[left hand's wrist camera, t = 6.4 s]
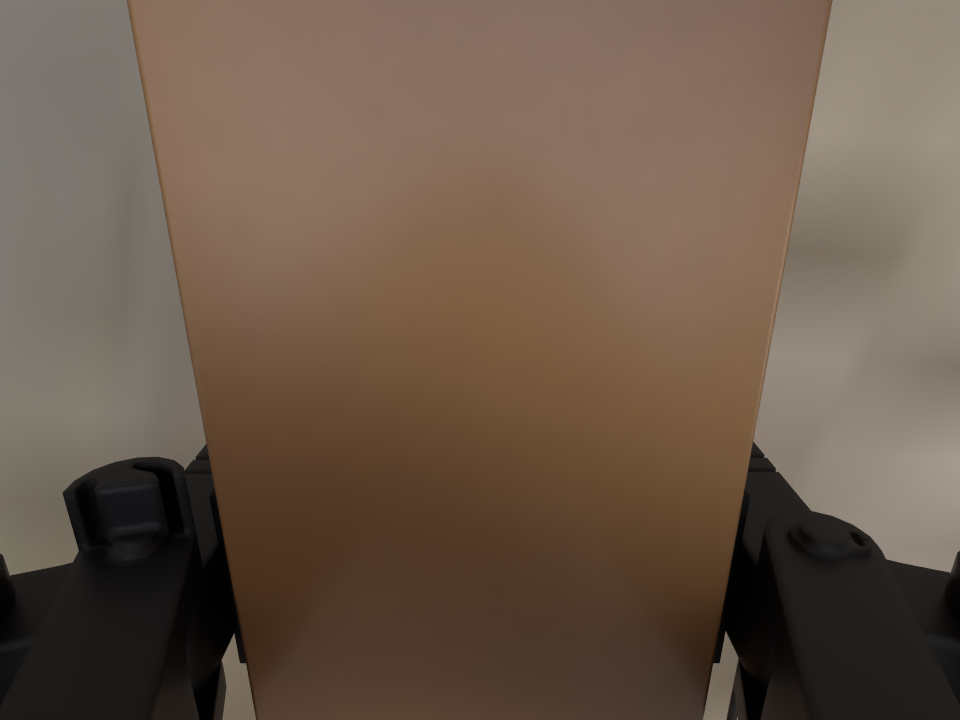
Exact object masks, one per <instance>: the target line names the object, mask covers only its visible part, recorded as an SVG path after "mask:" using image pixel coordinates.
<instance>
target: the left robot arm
mask: <svg viewBox="0 0 960 720" xmlns="http://www.w3.org/2000/svg"><path fill="white" fill-rule="evenodd" d="M63 496H64V500H65V503H66V507H67V510H68V514H69V517H70V521H71V524H72V528H73V531H74V535H75V538H76V542H77V545H78V549H79V552H78V554H77V556H76V558H75V560H74V562H73V563H69V564H65V565H61V566H56V567H51V568H46V569H41V570H36V571H31V572H26V573H21V574H16V575H11V576H10V575H9V572H8V569H7V566H6V563H5V560H4V557H3V555H1V554H0V720H222V718H223V710H224V702H225V694H226V681H225V674H224V669H223V664H222V658H223V656H224V653H225V651H226V649H227V647H228V645H229V643H230V641H231V639H232V637H233V634H234V633H235V639H236V644H237V649H238V655H239V660H240V663H246V659H245V654H244V648H243V643H242V637H241V631H240V626H239V620H238V615H237V609H236V604H235V598H234V593H233V587H232V581H231V576H230V570H229V565H228V559H227V554H226V548H225V543H224V537H223V531H222V526H221V520H220V515H219V509H218V504H217V498H216V493H215V487H214V481H213V476H212V470H211V465H210V459H209V454H208V448H207V444H206V445H205V446H204V448H203V449H202V450H201V451H200V452H199V454H198V455H197V456H196V460H193V461H192V462H191V463H190V465H189V466H188V467H187V468H186V469H185V471H184V468H183V467H182V466H181V465H180V464H178V463H177V462H176V461H174V460H171V459H166V458H161V457H141V458H133V459H128V460H123V461H118V462H114V463H111V464H109V465H106V466H103V467H100V468H98V469H95V470H92V471H91V472H89V473H87V474H85V475H84V476H82V477H80V478H78V479H77V480H75V481H74V482H73V483H72V484H71V485H70V486H69V487H68V488H67V489H66V490H65V491H64V492H63ZM725 631H726V632H727V634H728V636H729V638H730V640H731V643H732V645H733V647H734V649H735V651H736V653H737V655H738V657H739V659H738V664H737V669H736V674H735V679H734V684H733V689H732V694H731V699H730V704H729V709H728V714H727V720H736V719H737V716H738V720H960V551H959V552H958V553H957V556H956V559H955V562H954V565H953V568H952V570H951V573H949V572H944V571H939V570H934V569H929V568H924V567H918V566H913V565H908V564H903V563H898V562H894V561H891V560H887V559H886V558H885V556H884V554H883V553H882V551H881V549H880V548H879V547H878V545H877V544H876V543H875V542H874V541H873V539H872V538H871V537H870V536H869V535H867V534H866V533H864V532H863V531H861V530H860V529H858V528H857V527H855V526H854V525H852V524H850V523H847V522H845V521H843V520H840V519H838V518H836V517H833V516H830V515H826V514H822V513H817V512H813V511H811V510H810V509H809V508H808V507H807V505H806V504H805V503H804V502H803V501H802V499H801V498H800V497H799V496H798V495H797V493H796V492H795V491H794V490H793V489H792V487H791V486H790V485H789V484H788V483H787V481H786V480H785V479H784V478H783V477H782V475H781V474H780V473H779V472H776V468H775V467H774V466H773V465H772V463H771V462H770V461H769V460H768V459H767V458H764V454H763V453H762V451H761V450H760V449H759V448H758V447H757V445H756V444H755V443H754V442H753V444H752V450H751V455H750V461H749V466H748V472H747V477H746V483H745V489H744V494H743V500H742V505H741V511H740V516H739V522H738V527H737V533H736V539H735V544H734V550H733V555H732V561H731V566H730V572H729V577H728V583H727V589H726V594H725V600H724V605H723V611H722V616H721V622H720V627H719V633H718V639H717V644H716V650H715V655H714V661H713V663H720V658H721V653H722V647H723V642H724V636H725Z"/></svg>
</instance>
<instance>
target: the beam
mask: <svg viewBox="0 0 960 720" xmlns="http://www.w3.org/2000/svg"><path fill="white" fill-rule="evenodd" d="M127 4H128V9H129V15H130V20H131V26H132V31H133V37H134V43H135V48H136V54H137V59H138V65H139V70H140V76H141V81H142V87H143V93H144V98H145V104H146V109H147V115H148V120H149V126H150V131H151V137H152V143H153V148H154V154H155V159H156V165H157V170H158V176H159V181H160V187H161V193H162V198H163V204H164V209H165V215H166V220H167V226H168V231H169V237H170V243H171V248H172V254H173V259H174V265H175V270H176V276H177V281H178V287H179V293H180V298H181V304H182V309H183V315H184V320H185V326H186V331H187V337H188V343H189V348H190V354H191V359H192V365H193V370H194V376H195V381H196V387H197V393H198V398H199V404H200V409H201V415H202V420H203V426H204V431H205V437H206V443H207V448H208V454H209V459H210V465H211V470H212V476H213V481H214V487H215V493H216V498H217V504H218V509H219V515H220V520H221V526H222V531H223V537H224V543H225V548H226V554H227V559H228V565H229V570H230V576H231V581H232V587H233V593H234V598H235V604H236V609H237V615H238V620H239V626H240V631H241V637H242V643H243V648H244V654H245V659H246V665H247V670H248V676H249V681H250V687H251V693H252V698H253V704H254V709H255V715H256V720H703V716H704V711H705V705H706V700H707V694H708V689H709V683H710V677H711V672H712V666H713V661H714V655H715V650H716V644H717V639H718V633H719V627H720V622H721V616H722V611H723V605H724V600H725V594H726V589H727V583H728V577H729V572H730V566H731V561H732V555H733V550H734V544H735V539H736V533H737V527H738V522H739V516H740V511H741V505H742V500H743V494H744V489H745V483H746V477H747V472H748V466H749V461H750V455H751V450H752V444H753V439H754V433H755V427H756V422H757V416H758V411H759V405H760V400H761V394H762V389H763V383H764V377H765V372H766V366H767V361H768V355H769V350H770V344H771V339H772V333H773V327H774V322H775V316H776V311H777V305H778V300H779V294H780V289H781V283H782V277H783V272H784V266H785V261H786V255H787V250H788V244H789V239H790V233H791V227H792V222H793V216H794V211H795V205H796V200H797V194H798V189H799V183H800V177H801V172H802V166H803V161H804V155H805V150H806V144H807V139H808V133H809V127H810V122H811V116H812V111H813V105H814V100H815V94H816V89H817V83H818V77H819V72H820V66H821V61H822V55H823V50H824V44H825V39H826V33H827V27H828V22H829V16H830V11H831V5H832V0H127Z"/></svg>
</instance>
